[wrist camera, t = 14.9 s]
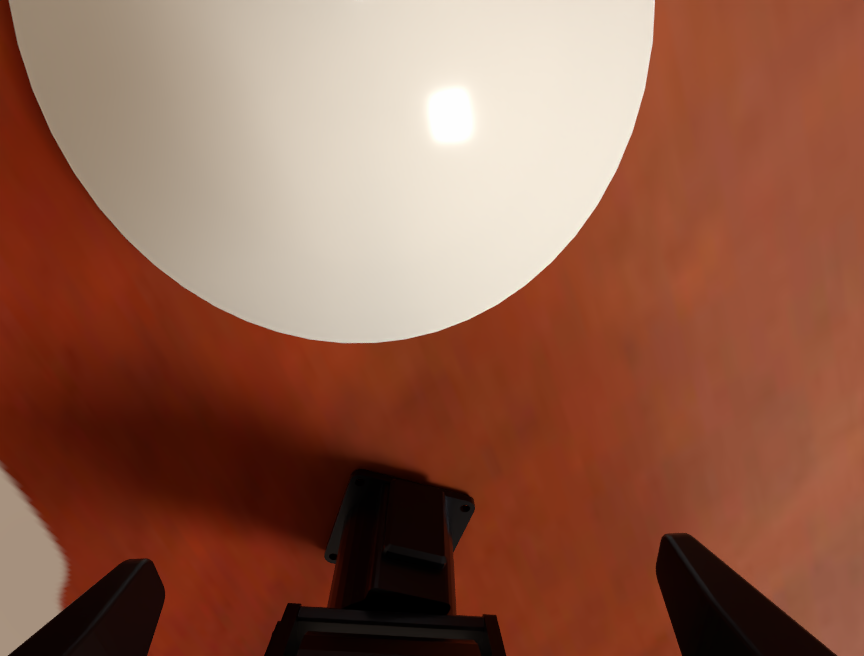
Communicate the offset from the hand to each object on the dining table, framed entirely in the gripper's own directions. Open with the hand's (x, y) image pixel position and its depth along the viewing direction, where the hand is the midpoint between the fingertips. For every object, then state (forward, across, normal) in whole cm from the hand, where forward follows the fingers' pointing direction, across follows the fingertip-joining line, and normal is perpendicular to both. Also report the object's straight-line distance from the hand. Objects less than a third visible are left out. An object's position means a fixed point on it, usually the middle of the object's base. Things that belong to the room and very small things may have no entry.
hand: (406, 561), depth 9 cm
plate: (+13, +2, -8) cm, 16 cm away
